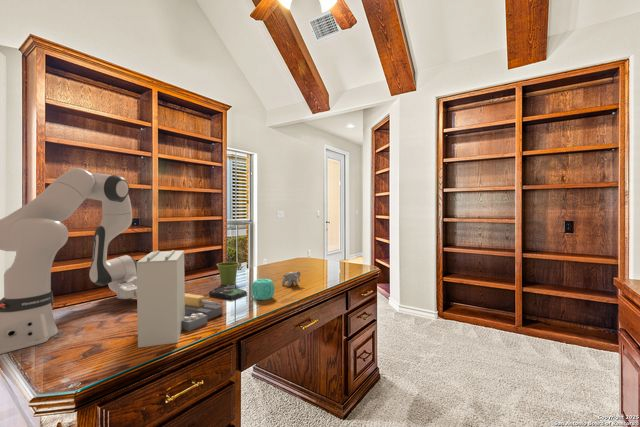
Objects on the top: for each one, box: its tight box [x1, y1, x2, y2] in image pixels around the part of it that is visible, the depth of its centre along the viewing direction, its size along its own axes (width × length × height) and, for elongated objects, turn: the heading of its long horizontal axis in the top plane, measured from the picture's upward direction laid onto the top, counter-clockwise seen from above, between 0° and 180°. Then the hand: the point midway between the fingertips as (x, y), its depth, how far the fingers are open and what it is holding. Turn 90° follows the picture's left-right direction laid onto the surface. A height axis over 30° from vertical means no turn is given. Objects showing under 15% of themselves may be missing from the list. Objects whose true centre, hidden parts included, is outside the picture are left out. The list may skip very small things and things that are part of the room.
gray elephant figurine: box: [281, 271, 301, 288], centre depth 167 cm, size 9×12×8 cm
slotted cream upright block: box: [136, 249, 186, 349], centre depth 106 cm, size 22×11×27 cm, turn 18°
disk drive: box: [208, 286, 248, 301], centre depth 149 cm, size 10×3×15 cm
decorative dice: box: [251, 278, 275, 301], centre depth 145 cm, size 8×8×8 cm
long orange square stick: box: [185, 292, 222, 307], centre depth 126 cm, size 30×3×3 cm, turn 66°
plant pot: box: [216, 261, 240, 286], centre depth 171 cm, size 12×12×11 cm
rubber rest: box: [185, 304, 223, 321], centre depth 124 cm, size 8×20×3 cm, turn 63°
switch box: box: [182, 313, 208, 332], centre depth 111 cm, size 8×5×4 cm, turn 153°
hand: (156, 290), depth 135 cm, fingers open, 8 cm apart
